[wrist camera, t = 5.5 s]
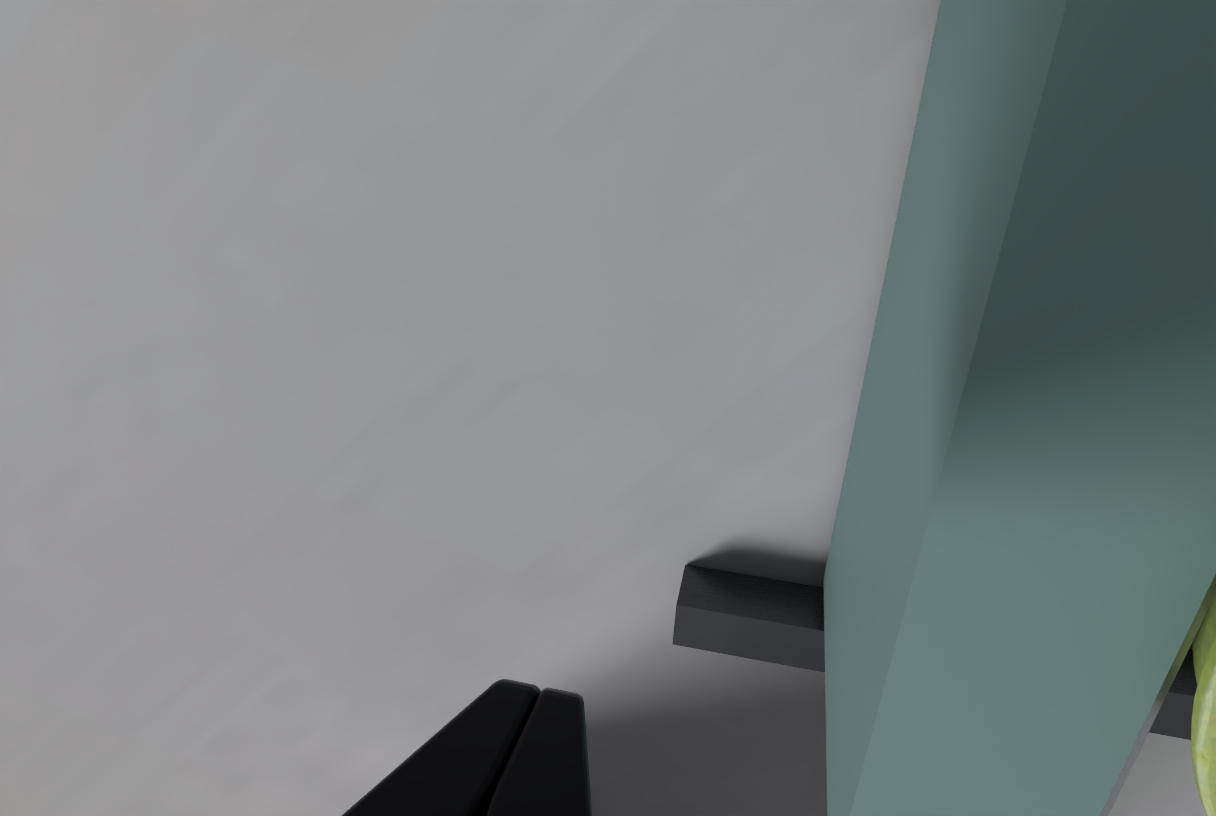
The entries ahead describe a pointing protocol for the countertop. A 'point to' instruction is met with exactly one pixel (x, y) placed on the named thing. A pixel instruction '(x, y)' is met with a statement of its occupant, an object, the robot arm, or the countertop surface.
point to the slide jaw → (1032, 419)
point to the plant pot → (1205, 710)
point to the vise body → (818, 631)
